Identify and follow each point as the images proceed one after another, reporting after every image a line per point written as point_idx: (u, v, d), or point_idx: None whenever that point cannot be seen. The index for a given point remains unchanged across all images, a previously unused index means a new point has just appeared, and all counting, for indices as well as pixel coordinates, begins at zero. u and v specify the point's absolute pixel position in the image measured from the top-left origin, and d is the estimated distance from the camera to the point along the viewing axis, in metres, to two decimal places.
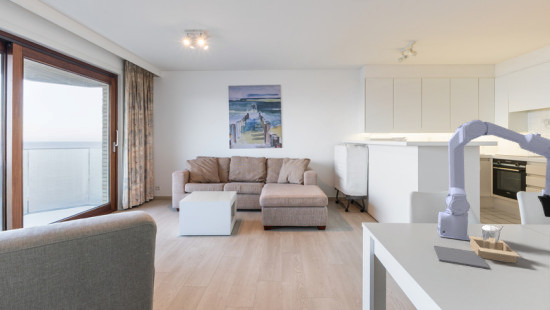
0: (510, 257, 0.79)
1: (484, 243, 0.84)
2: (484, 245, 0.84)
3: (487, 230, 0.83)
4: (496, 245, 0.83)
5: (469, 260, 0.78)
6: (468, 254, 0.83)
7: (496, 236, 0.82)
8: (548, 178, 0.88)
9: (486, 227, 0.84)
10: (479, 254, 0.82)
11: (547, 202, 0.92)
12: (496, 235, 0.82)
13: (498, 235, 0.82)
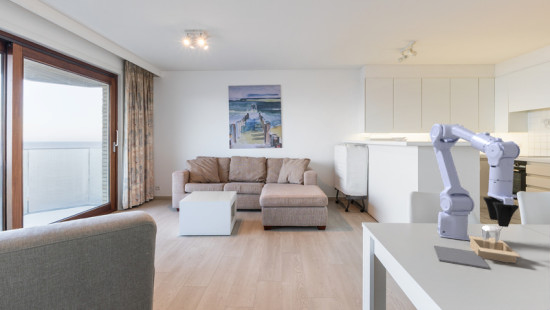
0: (510, 257, 0.79)
1: (484, 243, 0.84)
2: (484, 245, 0.84)
3: (487, 229, 0.83)
4: (496, 245, 0.83)
5: (469, 260, 0.78)
6: (468, 254, 0.83)
7: (496, 236, 0.82)
8: None
9: (486, 227, 0.84)
10: (479, 254, 0.82)
11: (492, 204, 0.87)
12: (496, 235, 0.82)
13: (498, 235, 0.82)
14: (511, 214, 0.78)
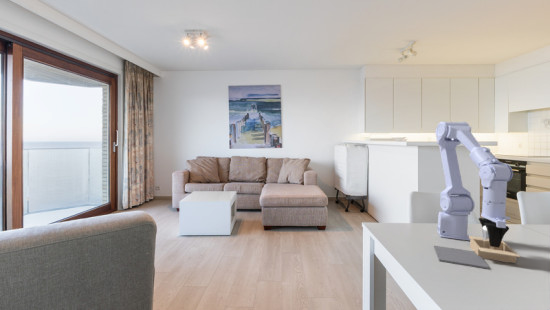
0: (510, 257, 0.79)
1: (484, 243, 0.84)
2: (484, 245, 0.84)
3: None
4: None
5: (469, 260, 0.78)
6: (468, 254, 0.83)
7: None
8: None
9: None
10: (479, 254, 0.82)
11: None
12: None
13: None
14: (502, 235, 0.80)
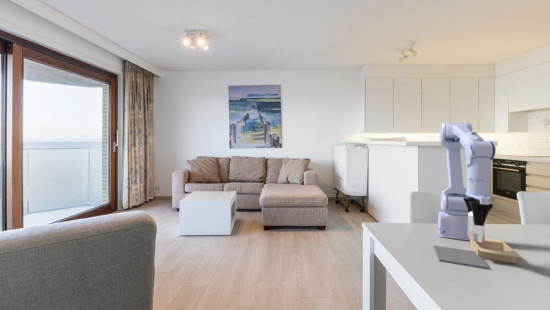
0: (510, 257, 0.79)
1: (471, 230, 0.82)
2: (472, 232, 0.82)
3: None
4: (483, 231, 0.81)
5: (469, 260, 0.78)
6: (468, 254, 0.83)
7: None
8: None
9: (472, 213, 0.82)
10: (479, 254, 0.82)
11: None
12: None
13: None
14: (486, 213, 0.78)
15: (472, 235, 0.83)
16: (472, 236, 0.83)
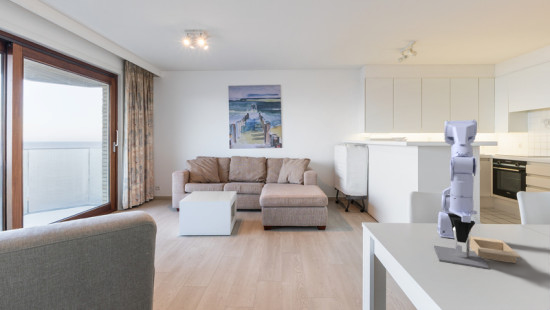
0: (510, 257, 0.79)
1: (456, 245, 0.81)
2: (457, 247, 0.81)
3: None
4: (468, 246, 0.80)
5: (469, 260, 0.78)
6: None
7: None
8: None
9: None
10: (479, 254, 0.82)
11: None
12: None
13: (469, 235, 0.79)
14: (468, 230, 0.77)
15: (457, 250, 0.81)
16: (457, 251, 0.81)
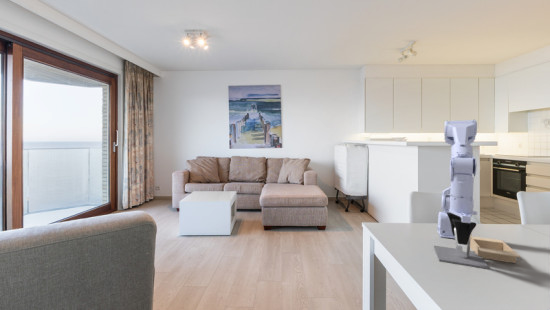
0: (510, 257, 0.79)
1: (457, 245, 0.81)
2: (457, 247, 0.81)
3: None
4: (469, 246, 0.79)
5: (469, 260, 0.78)
6: None
7: None
8: None
9: None
10: (479, 254, 0.82)
11: None
12: None
13: (470, 236, 0.79)
14: (469, 232, 0.76)
15: (457, 250, 0.81)
16: (457, 251, 0.81)
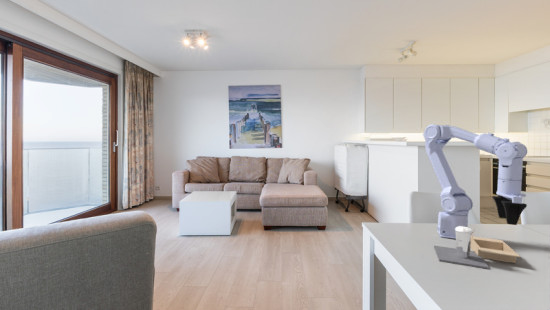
0: (510, 257, 0.79)
1: (457, 245, 0.81)
2: (457, 247, 0.81)
3: (460, 231, 0.80)
4: (469, 247, 0.79)
5: (469, 260, 0.78)
6: None
7: (469, 238, 0.79)
8: (498, 177, 0.87)
9: (459, 228, 0.80)
10: (479, 254, 0.82)
11: (501, 203, 0.89)
12: (469, 236, 0.79)
13: (471, 236, 0.79)
14: (519, 212, 0.80)
15: (457, 250, 0.81)
16: (457, 251, 0.81)
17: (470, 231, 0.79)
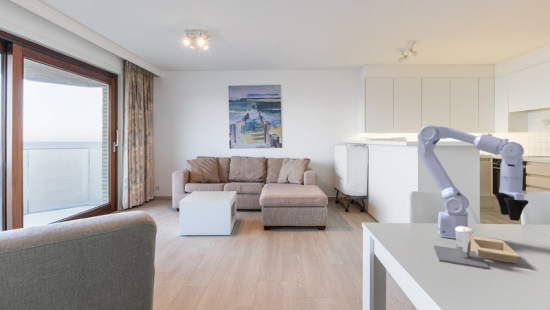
0: (510, 257, 0.79)
1: (457, 245, 0.81)
2: (457, 247, 0.81)
3: (460, 231, 0.80)
4: (469, 247, 0.79)
5: (469, 260, 0.78)
6: None
7: (469, 238, 0.79)
8: (500, 176, 0.90)
9: (459, 228, 0.80)
10: (479, 254, 0.82)
11: (503, 200, 0.93)
12: (469, 236, 0.79)
13: (471, 236, 0.79)
14: (522, 209, 0.84)
15: (457, 250, 0.81)
16: (457, 251, 0.81)
17: (470, 231, 0.79)
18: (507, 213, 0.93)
